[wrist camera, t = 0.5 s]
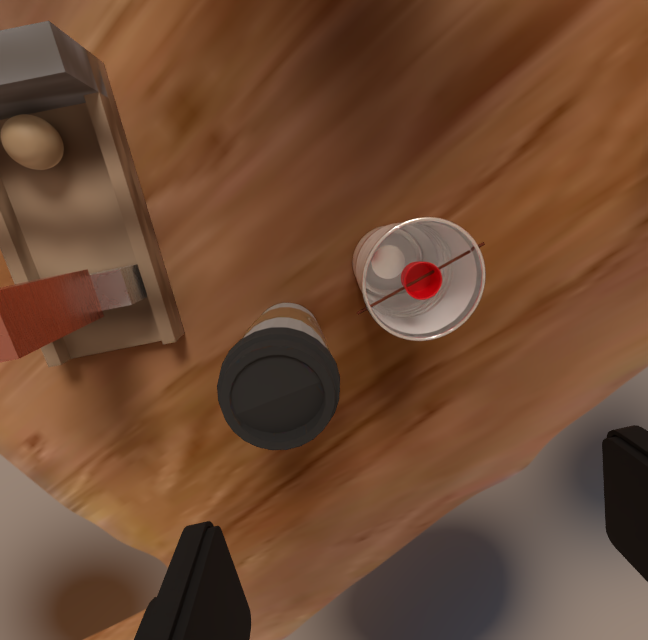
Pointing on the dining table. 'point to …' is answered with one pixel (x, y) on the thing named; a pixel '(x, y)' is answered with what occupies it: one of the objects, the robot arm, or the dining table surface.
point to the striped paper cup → (420, 277)
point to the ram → (61, 306)
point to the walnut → (32, 142)
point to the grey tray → (77, 192)
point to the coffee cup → (279, 380)
